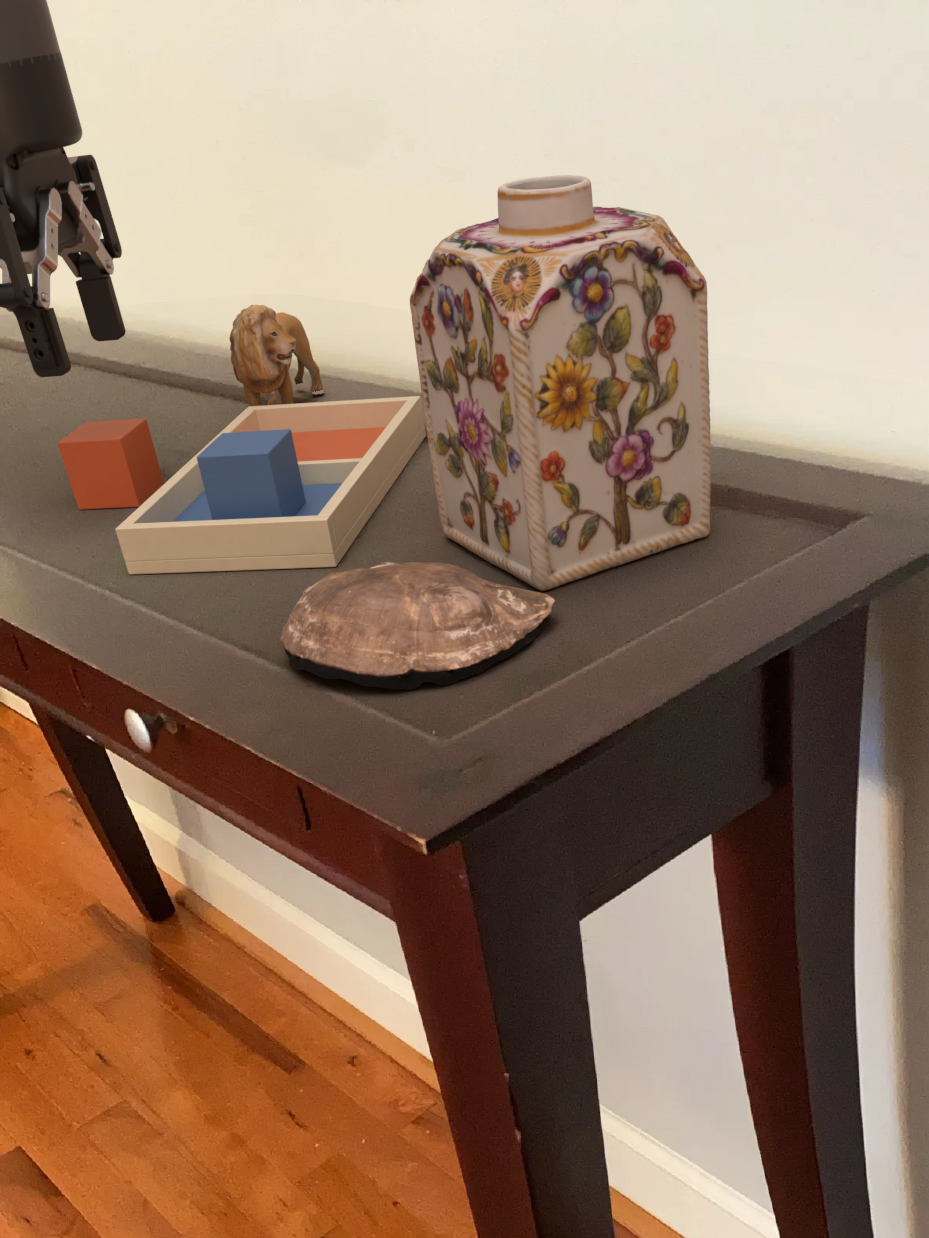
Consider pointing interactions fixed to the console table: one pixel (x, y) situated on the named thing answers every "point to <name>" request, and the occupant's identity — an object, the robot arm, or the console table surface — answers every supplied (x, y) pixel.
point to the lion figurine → (270, 354)
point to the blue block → (252, 475)
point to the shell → (409, 624)
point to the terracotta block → (111, 464)
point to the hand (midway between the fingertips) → (83, 356)
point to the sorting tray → (332, 482)
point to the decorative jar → (565, 384)
